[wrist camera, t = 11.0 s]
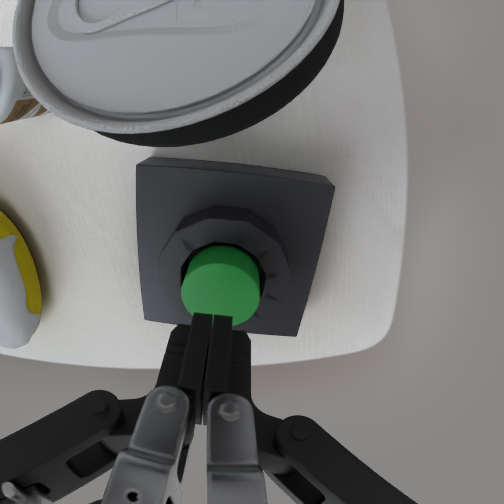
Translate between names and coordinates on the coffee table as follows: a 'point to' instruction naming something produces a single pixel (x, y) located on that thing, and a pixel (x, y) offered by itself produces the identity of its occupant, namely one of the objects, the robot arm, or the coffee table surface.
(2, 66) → the pill bottle
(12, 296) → the donut
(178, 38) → the beverage can
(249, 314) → the button
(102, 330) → the coffee table surface
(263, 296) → the button block
